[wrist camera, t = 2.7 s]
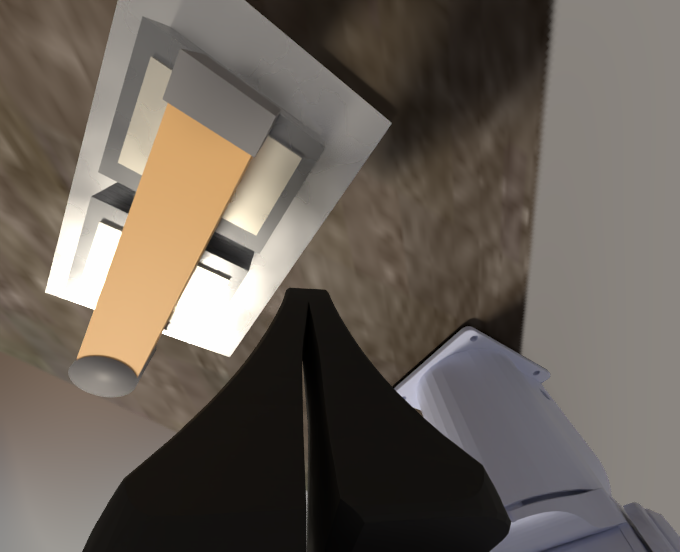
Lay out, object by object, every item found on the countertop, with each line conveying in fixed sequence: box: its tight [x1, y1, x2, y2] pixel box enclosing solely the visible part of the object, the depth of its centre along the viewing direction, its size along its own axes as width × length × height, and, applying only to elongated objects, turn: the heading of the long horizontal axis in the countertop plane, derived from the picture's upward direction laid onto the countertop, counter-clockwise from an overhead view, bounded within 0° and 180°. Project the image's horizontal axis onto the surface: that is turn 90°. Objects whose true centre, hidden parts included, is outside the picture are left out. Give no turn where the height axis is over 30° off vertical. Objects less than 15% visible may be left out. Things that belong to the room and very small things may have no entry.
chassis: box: [46, 0, 392, 357], centre depth 13 cm, size 10×16×3 cm, turn 145°
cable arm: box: [68, 48, 281, 397], centre depth 11 cm, size 13×2×2 cm, turn 145°
